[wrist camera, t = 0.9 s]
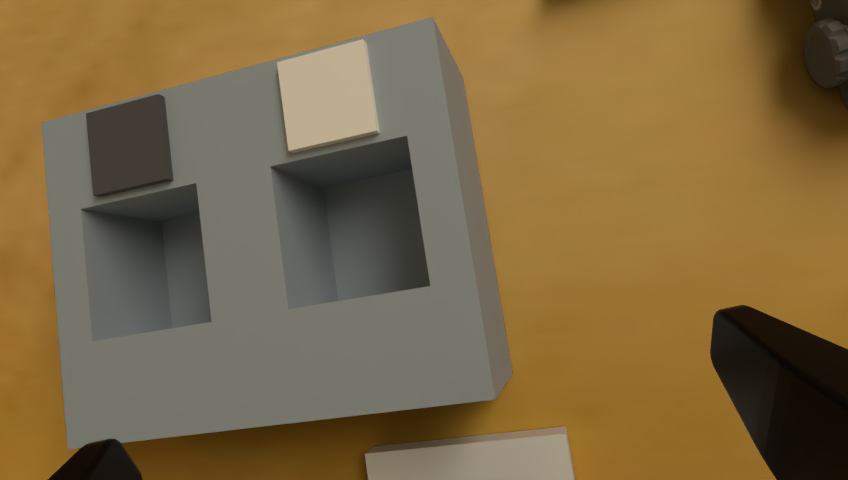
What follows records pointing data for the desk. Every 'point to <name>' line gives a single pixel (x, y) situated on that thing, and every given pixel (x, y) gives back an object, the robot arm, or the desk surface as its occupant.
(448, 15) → the desk surface
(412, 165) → the port block
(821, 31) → the red grey elongated piece
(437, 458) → the plate
